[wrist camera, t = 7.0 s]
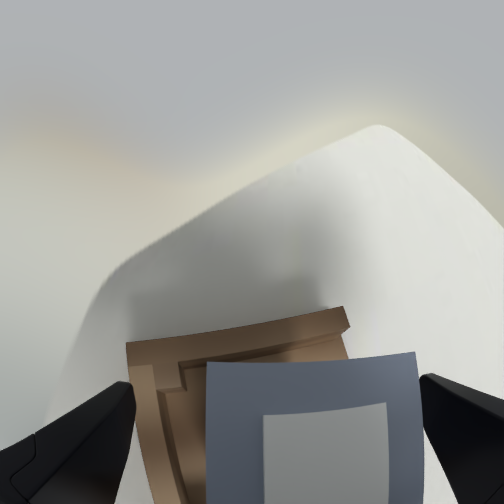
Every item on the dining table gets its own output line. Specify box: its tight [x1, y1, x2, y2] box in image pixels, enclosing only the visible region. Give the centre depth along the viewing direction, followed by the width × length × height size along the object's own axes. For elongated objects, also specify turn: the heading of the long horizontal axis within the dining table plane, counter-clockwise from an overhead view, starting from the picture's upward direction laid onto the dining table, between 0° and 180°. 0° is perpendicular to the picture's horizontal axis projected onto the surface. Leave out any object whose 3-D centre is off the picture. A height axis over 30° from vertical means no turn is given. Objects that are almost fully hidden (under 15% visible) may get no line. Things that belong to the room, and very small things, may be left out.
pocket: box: [126, 306, 350, 504], centre depth 12 cm, size 12×12×3 cm
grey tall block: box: [206, 352, 424, 504], centre depth 9 cm, size 4×4×11 cm
